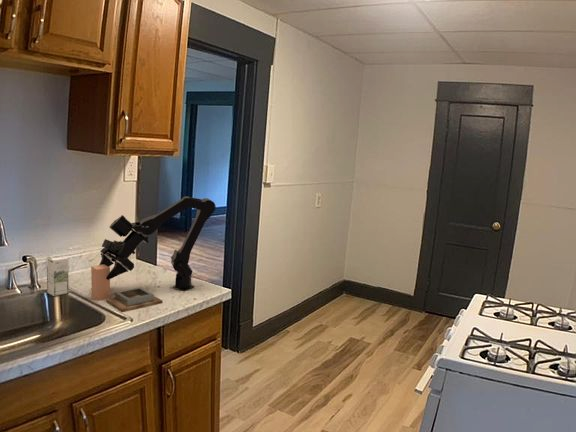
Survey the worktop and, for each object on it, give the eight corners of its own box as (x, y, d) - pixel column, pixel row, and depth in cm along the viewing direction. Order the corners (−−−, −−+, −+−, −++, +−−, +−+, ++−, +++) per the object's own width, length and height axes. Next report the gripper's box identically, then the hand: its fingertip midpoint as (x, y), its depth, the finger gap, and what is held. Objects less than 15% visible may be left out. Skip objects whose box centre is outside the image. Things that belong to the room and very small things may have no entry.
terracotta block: (104, 294, 181) (104, 264, 179) (110, 297, 177) (109, 267, 175) (91, 296, 177) (91, 266, 175) (97, 300, 174) (96, 269, 172)
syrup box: (62, 289, 183) (61, 254, 180) (69, 293, 179) (68, 257, 176) (47, 293, 178) (46, 256, 176) (54, 297, 174) (53, 259, 172)
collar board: (145, 293, 184) (145, 285, 184) (162, 302, 175) (162, 294, 174) (106, 301, 173) (106, 292, 172) (121, 312, 164) (121, 302, 163)
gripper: (105, 227, 184) (76, 258, 178) (126, 236, 171) (96, 269, 165) (124, 244, 191) (97, 274, 185) (146, 254, 177) (118, 287, 172)
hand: (101, 276), depth 176 cm, fingers open, 9 cm apart
